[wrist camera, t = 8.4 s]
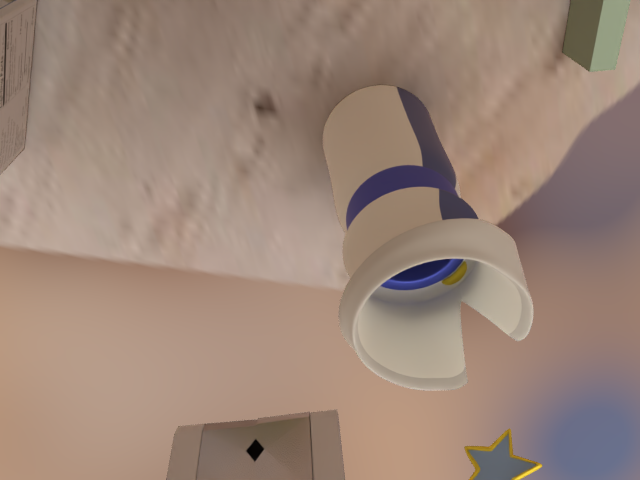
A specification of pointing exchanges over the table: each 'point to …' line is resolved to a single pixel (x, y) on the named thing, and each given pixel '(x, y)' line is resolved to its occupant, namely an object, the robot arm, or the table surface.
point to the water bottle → (417, 255)
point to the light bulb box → (15, 75)
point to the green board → (595, 32)
